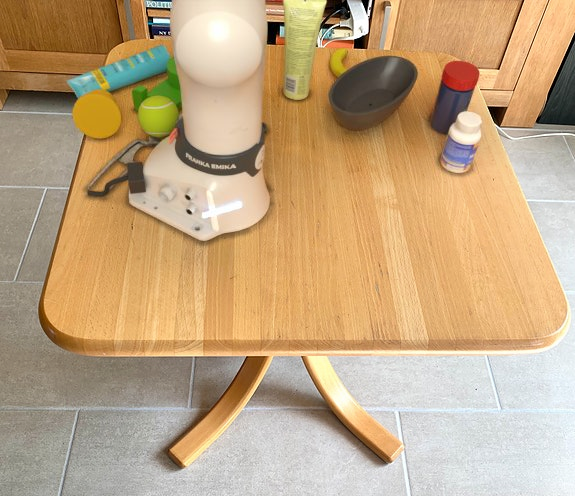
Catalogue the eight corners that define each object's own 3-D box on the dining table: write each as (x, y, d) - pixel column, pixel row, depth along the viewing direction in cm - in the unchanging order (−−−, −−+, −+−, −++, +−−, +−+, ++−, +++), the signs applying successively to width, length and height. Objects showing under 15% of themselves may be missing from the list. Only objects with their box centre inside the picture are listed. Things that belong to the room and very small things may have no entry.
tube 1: (172, 52, 115) (74, 89, 110) (178, 75, 119) (83, 112, 114) (157, 37, 120) (63, 72, 115) (163, 60, 124) (72, 94, 118)
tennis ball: (128, 99, 101) (147, 90, 108) (132, 140, 105) (151, 129, 111) (167, 102, 100) (184, 92, 106) (170, 143, 103) (187, 132, 109)
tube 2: (300, 81, 121) (308, -15, 107) (316, 94, 119) (327, -2, 104) (277, 90, 119) (282, -7, 104) (293, 104, 116) (300, 6, 102)
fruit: (330, 82, 122) (355, 84, 122) (331, 73, 120) (357, 74, 120) (327, 54, 128) (351, 55, 129) (329, 44, 127) (353, 46, 127)
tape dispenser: (184, 71, 121) (182, 50, 118) (213, 83, 119) (212, 62, 116) (133, 108, 113) (129, 87, 109) (163, 123, 110) (161, 101, 107)
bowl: (426, 99, 119) (433, 71, 115) (361, 154, 108) (367, 125, 103) (375, 74, 124) (380, 46, 119) (307, 124, 112) (310, 95, 108)
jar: (426, 129, 114) (440, 79, 106) (432, 110, 117) (446, 61, 109) (458, 137, 113) (475, 87, 104) (463, 118, 116) (480, 69, 108)
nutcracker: (83, 190, 99) (110, 201, 98) (83, 186, 98) (109, 197, 97) (139, 133, 108) (164, 143, 108) (139, 129, 108) (164, 139, 107)
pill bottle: (470, 176, 106) (487, 131, 98) (438, 171, 106) (453, 125, 99) (470, 156, 109) (486, 111, 102) (440, 151, 110) (454, 106, 102)
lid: (478, 75, 109) (482, 65, 108) (473, 94, 105) (477, 84, 104) (444, 67, 110) (447, 57, 109) (438, 86, 107) (441, 75, 105)
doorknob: (120, 96, 103) (70, 92, 101) (121, 140, 107) (73, 137, 106) (124, 80, 109) (77, 77, 108) (125, 122, 113) (79, 120, 112)
